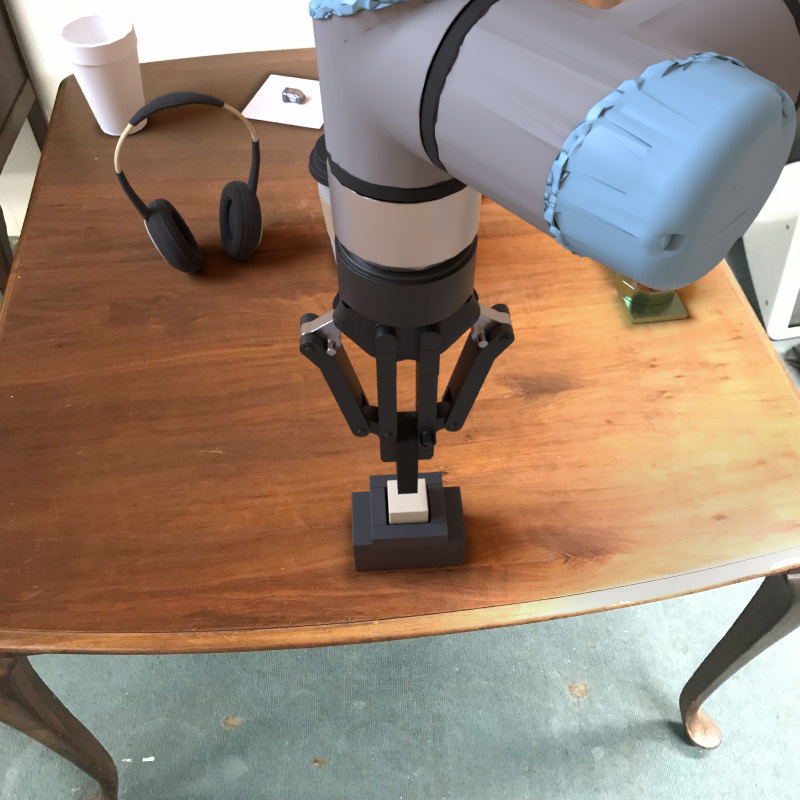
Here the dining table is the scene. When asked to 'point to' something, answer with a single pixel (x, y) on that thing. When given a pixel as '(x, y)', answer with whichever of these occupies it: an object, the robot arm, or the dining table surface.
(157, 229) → the headphones
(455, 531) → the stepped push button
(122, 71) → the foam cup
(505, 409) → the dining table surface
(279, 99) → the white square card
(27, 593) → the dining table surface
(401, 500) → the key
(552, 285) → the dining table surface
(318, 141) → the coffee cup
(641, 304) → the switch block
